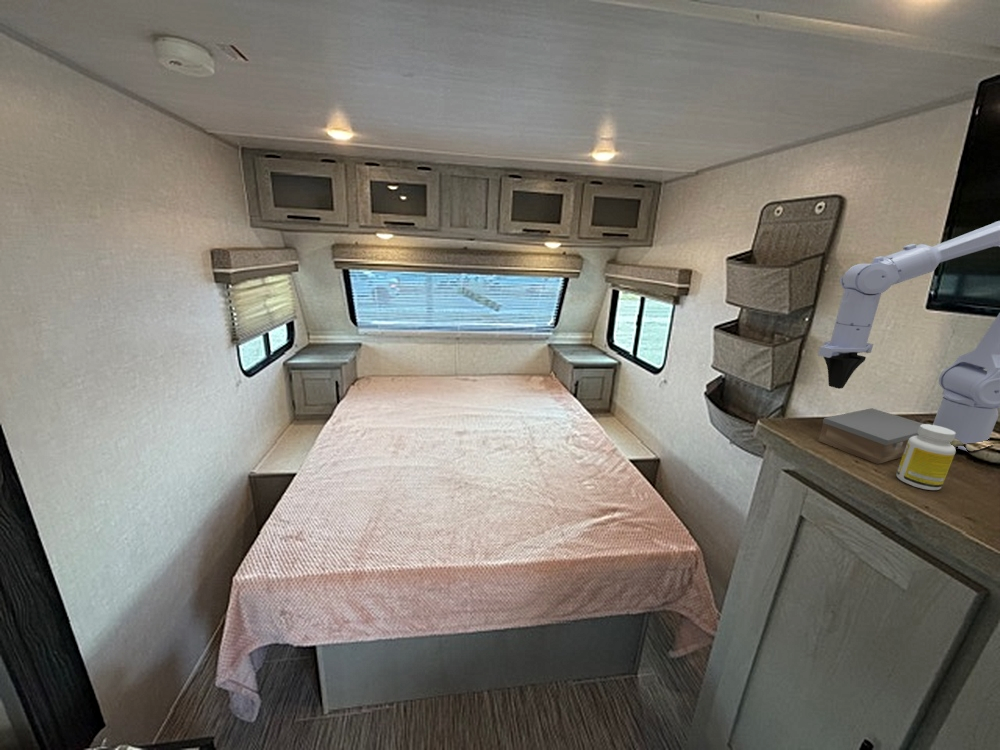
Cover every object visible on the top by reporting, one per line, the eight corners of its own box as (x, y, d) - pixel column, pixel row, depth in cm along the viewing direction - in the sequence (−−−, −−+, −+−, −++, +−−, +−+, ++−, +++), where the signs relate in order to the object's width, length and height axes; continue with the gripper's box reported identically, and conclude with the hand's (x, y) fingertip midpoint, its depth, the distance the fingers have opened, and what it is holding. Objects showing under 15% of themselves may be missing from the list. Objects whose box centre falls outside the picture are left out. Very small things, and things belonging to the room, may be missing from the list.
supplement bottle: (950, 493, 63) (973, 437, 61) (911, 489, 64) (931, 434, 62) (923, 475, 68) (943, 423, 66) (887, 472, 70) (905, 420, 67)
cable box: (864, 429, 87) (869, 413, 86) (928, 451, 77) (935, 432, 76) (818, 440, 81) (823, 422, 80) (880, 465, 72) (887, 445, 71)
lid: (870, 412, 86) (872, 408, 85) (935, 432, 76) (936, 427, 76) (822, 422, 80) (823, 418, 79) (886, 445, 71) (888, 440, 70)
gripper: (852, 319, 87) (835, 378, 91) (809, 322, 82) (794, 384, 86) (892, 325, 81) (872, 387, 85) (848, 328, 76) (830, 395, 80)
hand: (835, 387), depth 85 cm, fingers closed
